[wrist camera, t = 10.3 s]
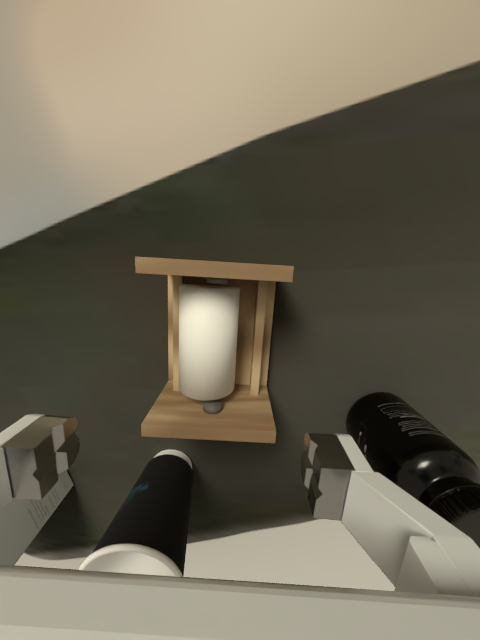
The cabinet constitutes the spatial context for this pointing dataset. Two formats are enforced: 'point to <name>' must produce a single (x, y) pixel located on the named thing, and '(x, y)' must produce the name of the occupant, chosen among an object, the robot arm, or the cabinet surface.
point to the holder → (251, 355)
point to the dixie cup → (150, 522)
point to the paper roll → (207, 340)
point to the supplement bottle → (418, 459)
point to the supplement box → (28, 519)
